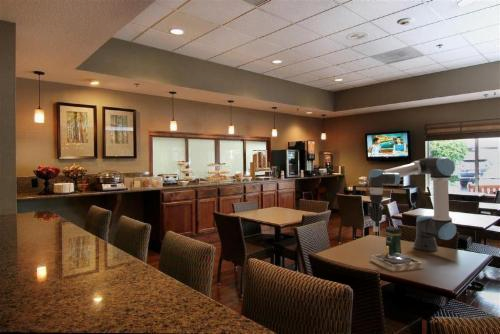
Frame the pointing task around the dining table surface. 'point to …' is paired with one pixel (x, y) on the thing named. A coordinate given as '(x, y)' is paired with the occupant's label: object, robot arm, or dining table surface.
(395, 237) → the coffee jar
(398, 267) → the square tray
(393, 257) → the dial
